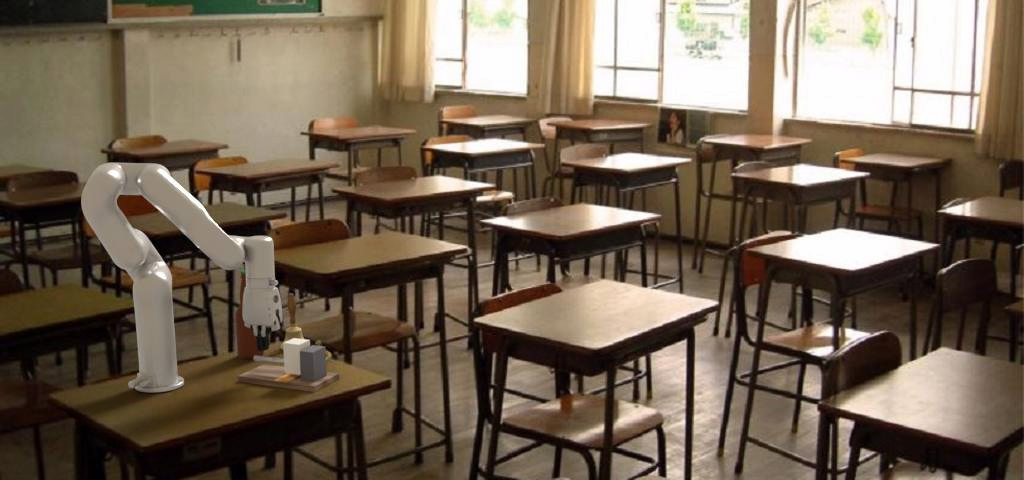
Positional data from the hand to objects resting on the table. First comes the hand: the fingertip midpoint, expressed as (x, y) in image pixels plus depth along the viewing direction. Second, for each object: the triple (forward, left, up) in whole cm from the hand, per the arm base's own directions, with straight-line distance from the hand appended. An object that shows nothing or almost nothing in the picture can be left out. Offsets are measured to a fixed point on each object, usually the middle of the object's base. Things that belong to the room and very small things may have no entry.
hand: (263, 349), depth 333 cm
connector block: (0, -16, -6) cm, 17 cm away
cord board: (0, -8, -8) cm, 11 cm away
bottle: (+15, +15, -8) cm, 23 cm away
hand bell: (+28, +9, -8) cm, 31 cm away
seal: (+20, -3, -8) cm, 22 cm away
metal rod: (0, -5, -3) cm, 6 cm away
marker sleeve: (0, -11, -5) cm, 12 cm away
